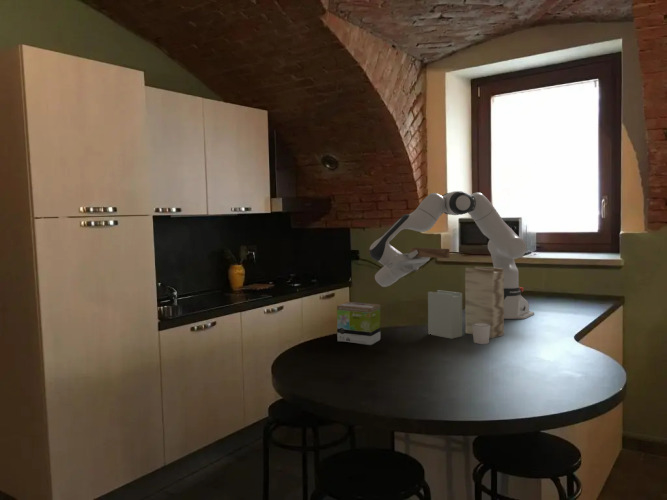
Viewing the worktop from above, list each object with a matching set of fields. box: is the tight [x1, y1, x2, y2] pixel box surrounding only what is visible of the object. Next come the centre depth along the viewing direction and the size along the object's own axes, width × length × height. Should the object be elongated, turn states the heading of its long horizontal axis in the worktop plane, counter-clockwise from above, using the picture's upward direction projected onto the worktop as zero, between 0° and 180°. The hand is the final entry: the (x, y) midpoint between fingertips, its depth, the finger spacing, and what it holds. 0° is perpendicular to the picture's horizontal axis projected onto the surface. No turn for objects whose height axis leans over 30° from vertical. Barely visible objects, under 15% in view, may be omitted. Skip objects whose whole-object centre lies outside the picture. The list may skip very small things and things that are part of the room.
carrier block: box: [427, 289, 463, 340], centre depth 221 cm, size 7×12×18 cm, turn 40°
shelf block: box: [464, 266, 505, 339], centre depth 221 cm, size 8×13×27 cm, turn 40°
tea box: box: [336, 301, 381, 346], centre depth 214 cm, size 15×10×15 cm, turn 62°
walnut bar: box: [410, 247, 450, 259], centre depth 225 cm, size 4×18×4 cm, turn 40°
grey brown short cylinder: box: [472, 323, 490, 345], centre depth 208 cm, size 7×7×7 cm
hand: (421, 251), depth 228 cm, fingers closed on walnut bar, 3 cm apart
